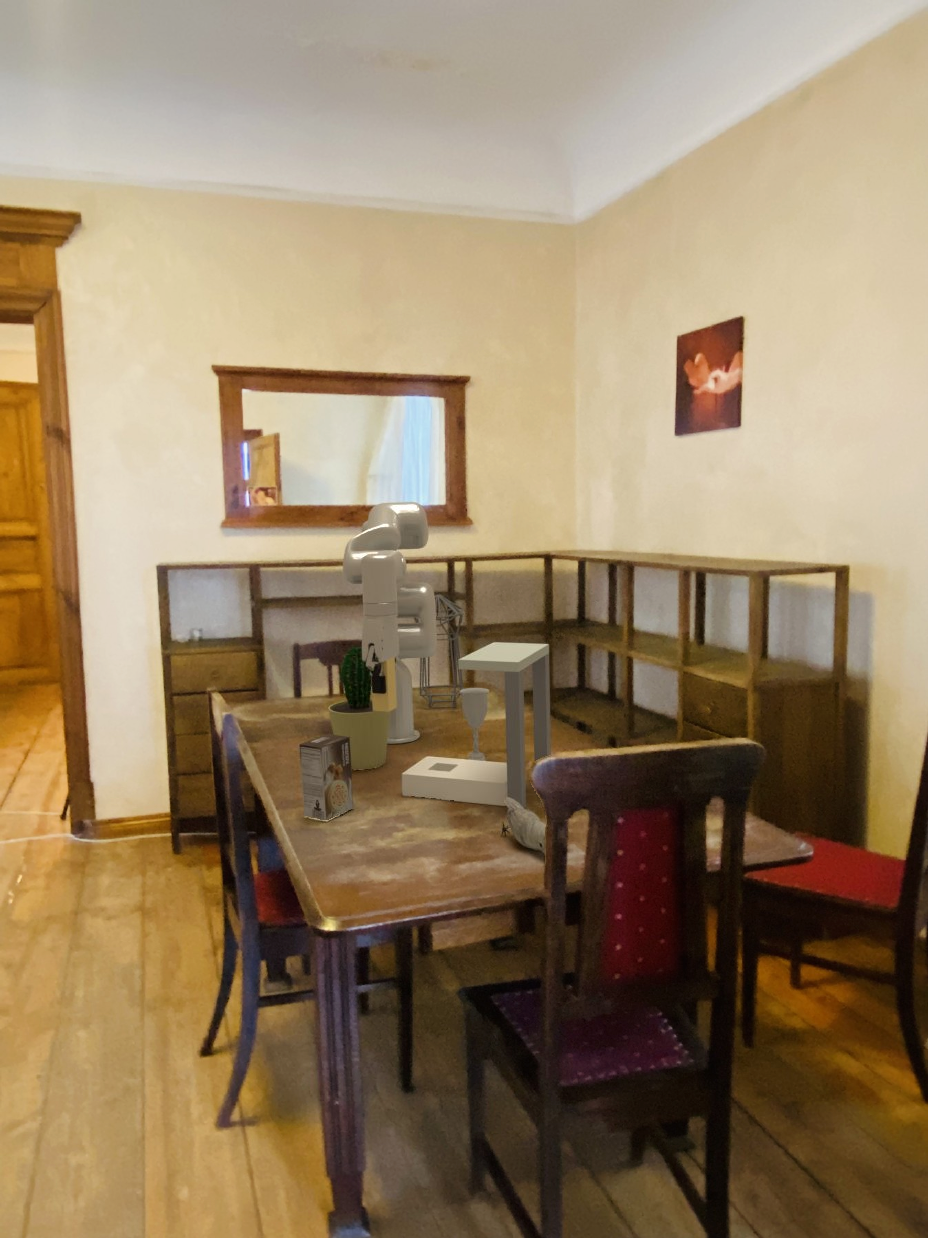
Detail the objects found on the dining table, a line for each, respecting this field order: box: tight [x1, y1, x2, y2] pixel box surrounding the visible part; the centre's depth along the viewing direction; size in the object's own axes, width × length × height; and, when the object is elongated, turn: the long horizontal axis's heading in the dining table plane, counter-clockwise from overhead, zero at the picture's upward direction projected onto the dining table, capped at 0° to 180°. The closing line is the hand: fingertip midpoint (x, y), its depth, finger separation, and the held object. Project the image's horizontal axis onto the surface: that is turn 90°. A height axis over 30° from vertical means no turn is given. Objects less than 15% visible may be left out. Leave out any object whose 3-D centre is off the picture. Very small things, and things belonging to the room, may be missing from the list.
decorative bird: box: [500, 797, 547, 855], centre depth 171 cm, size 5×16×8 cm, turn 27°
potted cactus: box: [327, 646, 390, 770], centre depth 225 cm, size 15×15×30 cm
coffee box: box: [299, 733, 355, 820], centre depth 191 cm, size 9×6×16 cm
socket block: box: [401, 755, 508, 807], centre depth 204 cm, size 24×14×5 cm, turn 69°
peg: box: [371, 657, 397, 712], centre depth 204 cm, size 4×4×12 cm
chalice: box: [459, 687, 490, 761], centre depth 225 cm, size 7×7×18 cm
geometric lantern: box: [413, 594, 464, 709], centre depth 285 cm, size 16×16×35 cm
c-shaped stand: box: [458, 641, 552, 810], centre depth 199 cm, size 13×22×32 cm, turn 159°
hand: (383, 690), depth 204 cm, fingers closed on peg, 4 cm apart
